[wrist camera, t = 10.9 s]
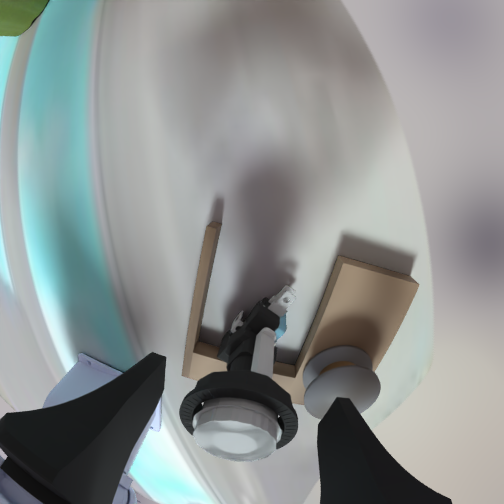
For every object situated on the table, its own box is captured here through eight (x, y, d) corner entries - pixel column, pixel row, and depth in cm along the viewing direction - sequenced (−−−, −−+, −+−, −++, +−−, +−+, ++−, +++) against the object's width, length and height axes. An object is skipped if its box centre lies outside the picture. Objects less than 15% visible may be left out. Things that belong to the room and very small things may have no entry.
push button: (259, 261, 17) (234, 363, 8) (321, 306, 18) (349, 423, 8) (204, 328, 19) (155, 435, 10) (262, 365, 20) (248, 477, 10)
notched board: (187, 364, 20) (171, 398, 17) (212, 221, 17) (192, 236, 13) (345, 398, 20) (353, 433, 16) (410, 276, 17) (437, 301, 13)
